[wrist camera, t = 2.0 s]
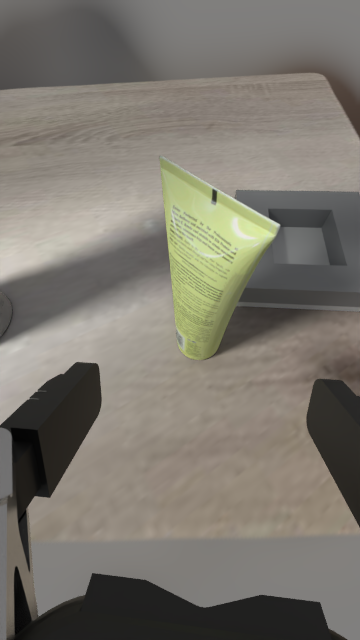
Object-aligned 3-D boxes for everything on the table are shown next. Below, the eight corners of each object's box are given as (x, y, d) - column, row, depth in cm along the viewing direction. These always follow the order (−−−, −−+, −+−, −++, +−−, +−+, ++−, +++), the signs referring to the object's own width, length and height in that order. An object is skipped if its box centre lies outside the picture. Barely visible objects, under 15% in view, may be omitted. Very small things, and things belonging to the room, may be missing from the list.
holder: (234, 305, 31) (239, 287, 28) (232, 214, 39) (236, 190, 35) (370, 312, 30) (394, 293, 27) (342, 216, 37) (358, 191, 34)
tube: (224, 321, 31) (268, 152, 13) (226, 362, 28) (282, 224, 11) (177, 320, 31) (159, 154, 13) (175, 361, 29) (149, 224, 11)
